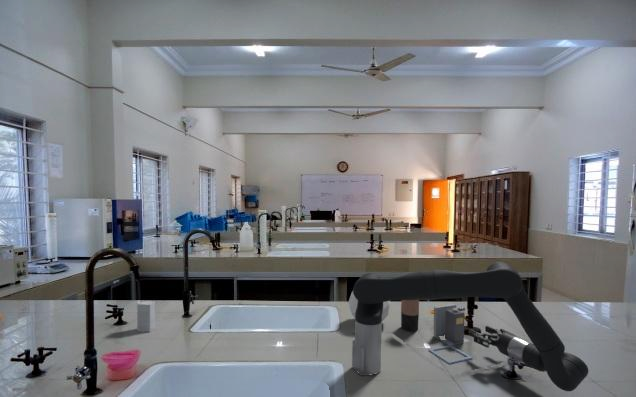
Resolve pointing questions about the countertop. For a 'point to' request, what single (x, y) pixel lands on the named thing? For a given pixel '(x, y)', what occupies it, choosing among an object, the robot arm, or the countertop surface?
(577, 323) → the countertop surface
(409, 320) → the travel mug
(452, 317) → the grey box bottle
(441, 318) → the bay
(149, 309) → the skincare box
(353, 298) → the polyhedron
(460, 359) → the blue-grey square frame
